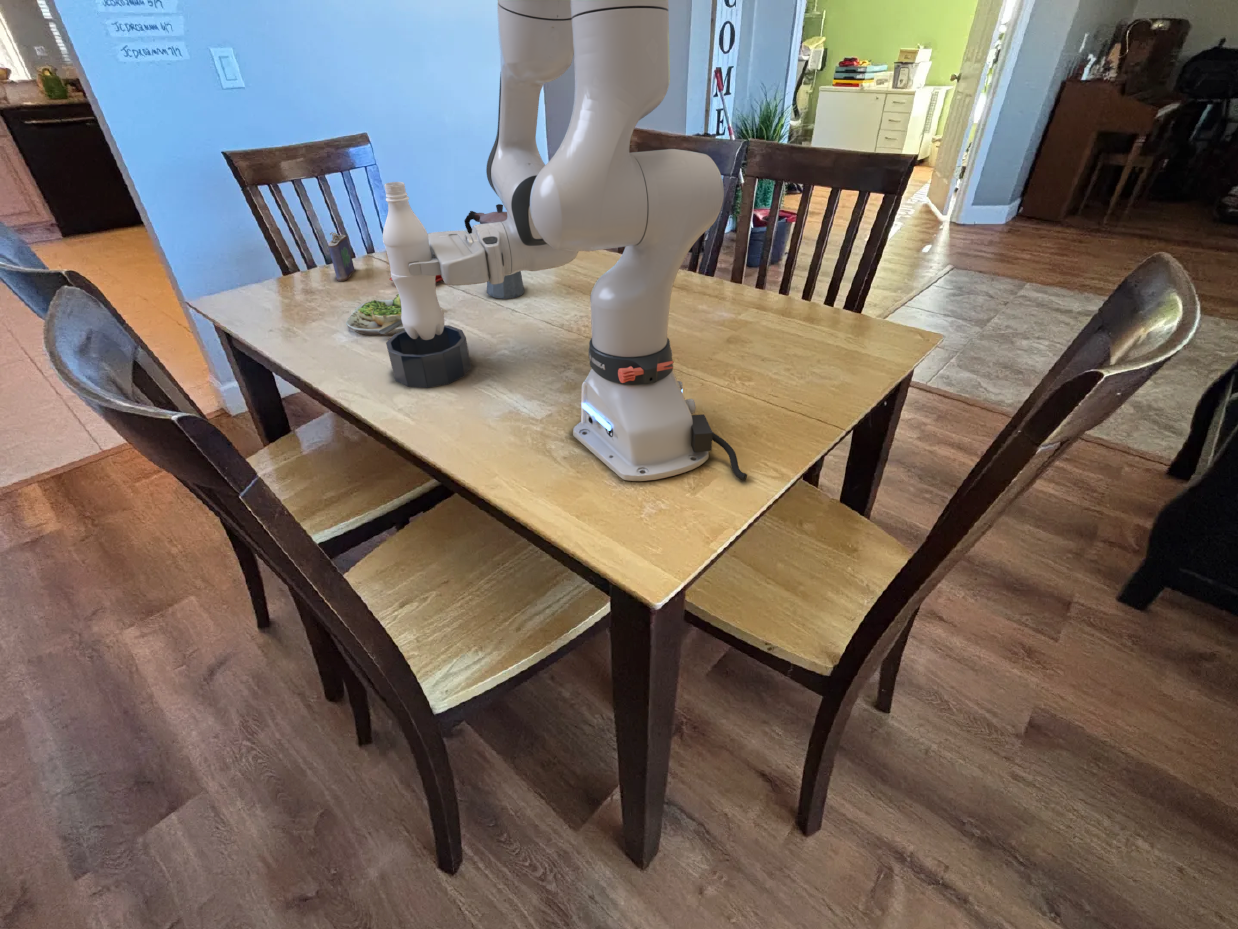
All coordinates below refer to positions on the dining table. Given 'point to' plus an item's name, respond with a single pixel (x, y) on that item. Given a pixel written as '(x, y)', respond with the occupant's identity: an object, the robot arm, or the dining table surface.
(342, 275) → the flask
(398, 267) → the water bottle
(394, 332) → the avocado toast plate
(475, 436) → the dining table surface
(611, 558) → the dining table surface
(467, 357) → the dark grey faceted ring
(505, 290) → the moka pot
